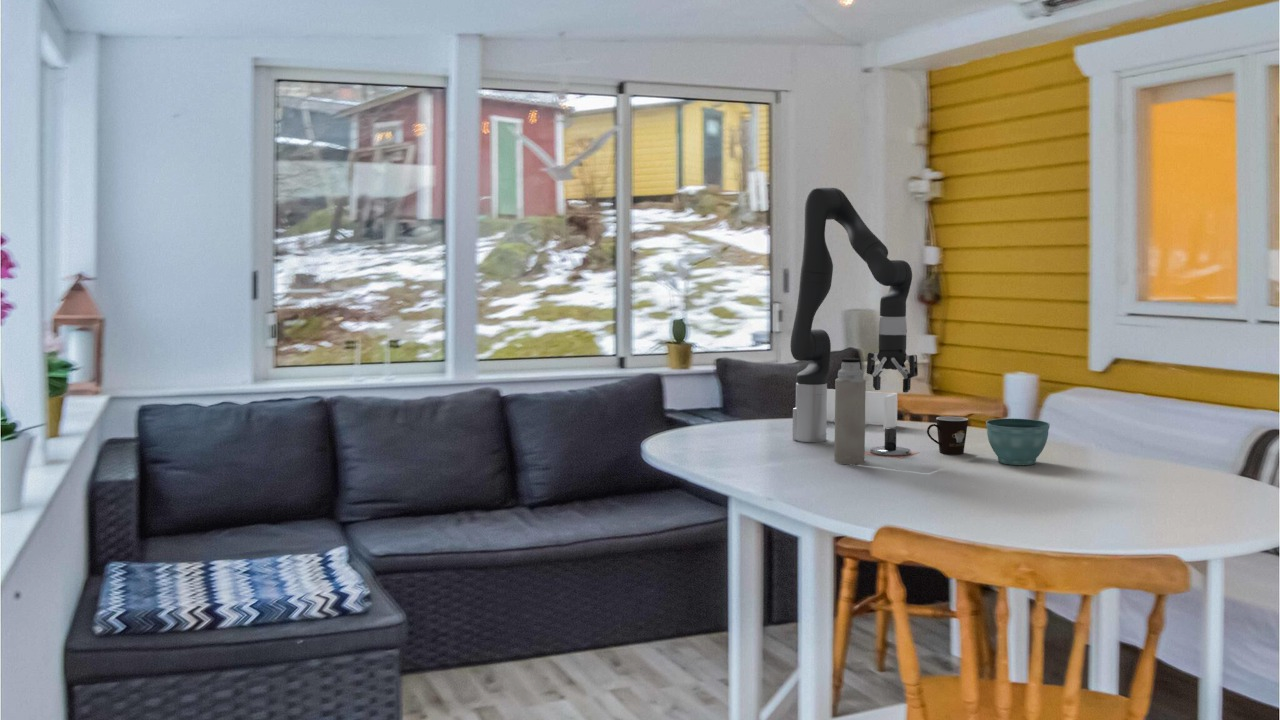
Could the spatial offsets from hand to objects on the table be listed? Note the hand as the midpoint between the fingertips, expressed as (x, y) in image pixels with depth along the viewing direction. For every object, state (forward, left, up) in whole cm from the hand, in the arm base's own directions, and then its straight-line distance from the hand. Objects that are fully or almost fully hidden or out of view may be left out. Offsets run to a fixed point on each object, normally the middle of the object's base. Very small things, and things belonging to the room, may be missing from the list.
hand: (891, 391), depth 319 cm
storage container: (-34, +43, -18) cm, 58 cm away
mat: (0, 0, -18) cm, 18 cm away
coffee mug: (+12, +10, -18) cm, 24 cm away
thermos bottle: (-3, -17, -18) cm, 25 cm away
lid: (0, 0, -17) cm, 17 cm away
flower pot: (+32, +9, -18) cm, 38 cm away
